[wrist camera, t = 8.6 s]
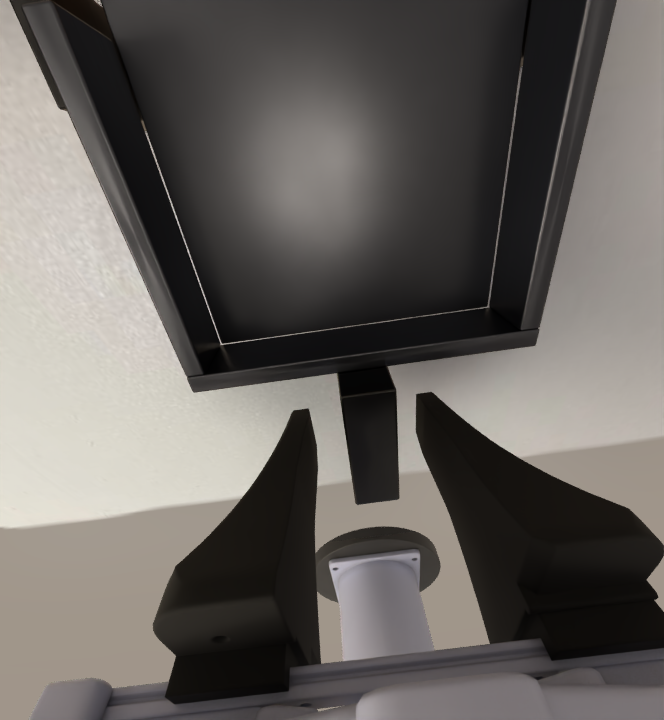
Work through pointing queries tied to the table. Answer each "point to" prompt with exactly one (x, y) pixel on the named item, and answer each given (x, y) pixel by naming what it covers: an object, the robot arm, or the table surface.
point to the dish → (335, 179)
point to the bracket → (93, 14)
